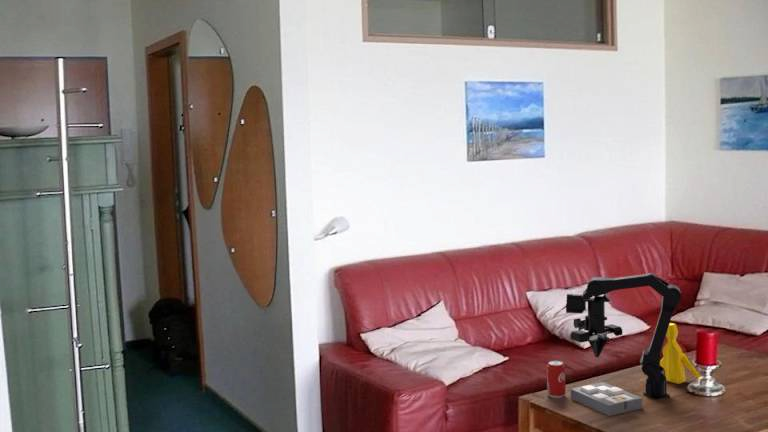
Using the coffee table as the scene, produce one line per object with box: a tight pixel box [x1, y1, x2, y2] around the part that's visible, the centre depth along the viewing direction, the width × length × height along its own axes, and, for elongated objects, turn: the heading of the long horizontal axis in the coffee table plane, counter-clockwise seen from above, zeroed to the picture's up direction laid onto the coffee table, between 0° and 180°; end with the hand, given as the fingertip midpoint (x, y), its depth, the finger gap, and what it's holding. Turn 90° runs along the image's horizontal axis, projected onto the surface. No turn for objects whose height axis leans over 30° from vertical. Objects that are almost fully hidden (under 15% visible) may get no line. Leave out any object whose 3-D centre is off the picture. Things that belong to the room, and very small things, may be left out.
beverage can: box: [546, 360, 566, 399], centre depth 292 cm, size 6×6×12 cm
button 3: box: [596, 385, 609, 391], centre depth 289 cm, size 4×4×2 cm
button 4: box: [606, 386, 624, 396], centre depth 283 cm, size 4×4×2 cm
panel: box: [570, 381, 643, 417], centre depth 283 cm, size 14×20×4 cm
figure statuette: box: [660, 322, 701, 385], centre depth 301 cm, size 18×8×22 cm, turn 40°
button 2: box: [592, 393, 609, 399], centre depth 281 cm, size 4×4×2 cm
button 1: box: [580, 384, 598, 394], centre depth 286 cm, size 4×4×2 cm
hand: (596, 357), depth 293 cm, fingers closed
